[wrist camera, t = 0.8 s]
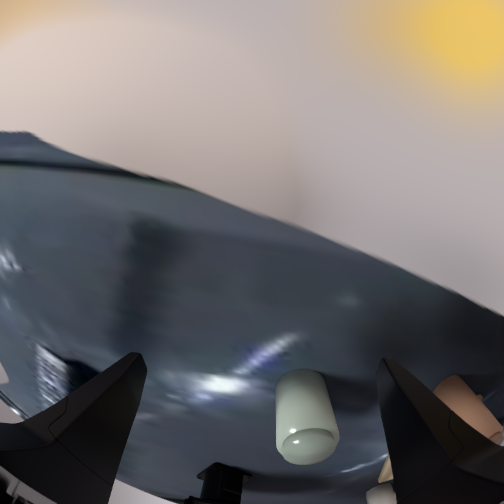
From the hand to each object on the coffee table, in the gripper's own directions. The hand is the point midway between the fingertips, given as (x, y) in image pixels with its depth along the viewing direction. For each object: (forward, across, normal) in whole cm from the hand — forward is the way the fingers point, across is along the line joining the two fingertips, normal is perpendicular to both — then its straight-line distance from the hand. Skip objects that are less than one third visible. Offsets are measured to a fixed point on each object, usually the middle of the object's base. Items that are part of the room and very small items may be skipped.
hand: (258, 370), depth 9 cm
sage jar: (+12, -3, +17) cm, 21 cm away
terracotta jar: (+12, -24, +21) cm, 34 cm away
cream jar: (+6, -21, +48) cm, 53 cm away
